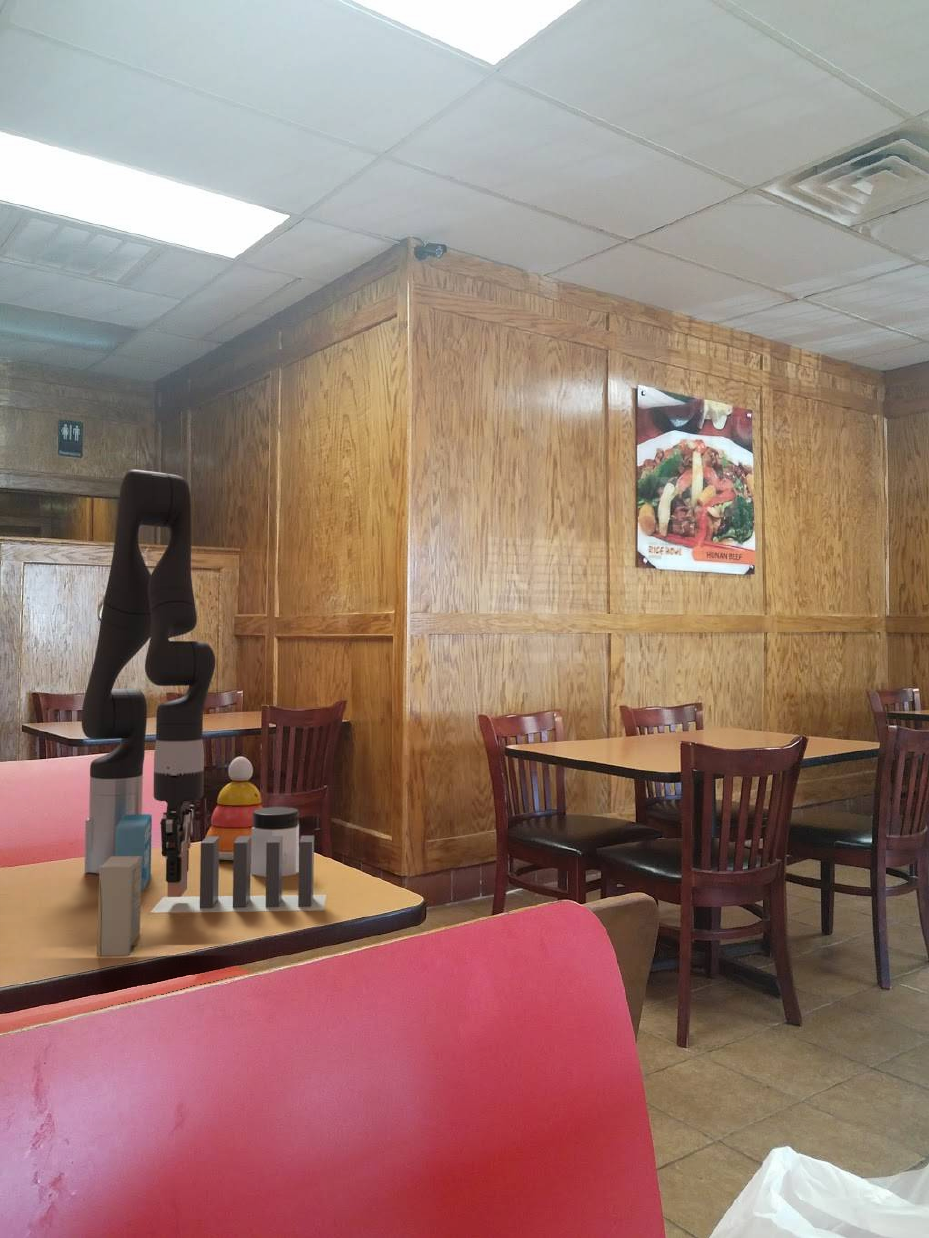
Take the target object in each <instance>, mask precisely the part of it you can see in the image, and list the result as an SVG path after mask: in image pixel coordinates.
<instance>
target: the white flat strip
mask: <svg viewBox="0 0 929 1238" xmlns="http://www.w3.org/2000/svg"><path fill="white" fill-rule="evenodd" d="M326 900H327V894H313V901H312V905H311V907H298V894H285V895H283V894H282V899H281V902H280V905H279V907H266V894H265V895H250V900H249V902H248V904H247V906H246V908H233V895H218V901H217V902H216V904H215V906H214V907H213V908H200V895H199V896H198V895H197V896H194V895H193V896H181V897H167V896H162V898H161V899H160V900H159V902H158V903H156V905H155V906H154V908H153V909H152V910H151V911H150V913H149V914H173V913H174V914H179V913H185V914H186V913H235V912H237V913H239V912H241V913H242V912H243V913H245V912H248V913H249V912H296V911H297V912H299V911H300V912H303V911H304V912H306V911H307V912H310V911H313V912H314V911H324V910H325V904H326Z"/></svg>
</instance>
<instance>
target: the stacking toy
mask: <svg viewBox="0 0 929 1238" xmlns="http://www.w3.org/2000/svg"><path fill="white" fill-rule="evenodd" d="M227 771H228V772H227V774H228V776H229V778H230V780H232V781H231V782H230V783H227V784H226V785H225V786H223V788H222V789H221V790H220V791H219V794H218V796H217V800H216V803H217V805H216V807H215V808H214V810H213V812H212V815H211V818H210V824H211V826H210V827H209V829H208V831H207V833H206V835H205V838H206V837H209V836H219V861H220V860H221V861H222V860H223V861H233V857H234V842H235V840H236V839H237V837H238V836H251V843H252V828H253V811H255V810H257V809H261V808H264V807H263V805H262V804H261V803H262V795H261V793H260V791H259V789H258V788H257V786H255V785H254V784H253V783H251V782H250V781H249V780H250V779H251V778H252V776H253V773H254V768H253V765H252V763H251V761H250V760H248V758H246V757H244V756H237V757H235V758H233V760H232V761H231V762H230V764H229V766H228V770H227Z"/></svg>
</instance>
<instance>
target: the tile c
mask: <svg viewBox="0 0 929 1238" xmlns="http://www.w3.org/2000/svg"><path fill="white" fill-rule="evenodd" d="M232 861H233V862H232V863H233V864H232V865H233V867H232V869H233V871H232V873H233V874H232V896H233V908H246V906H247V904H248V902H249V900H250V896H251V836H238V837H237V839H236V840H235V842H234V857H233V860H232Z"/></svg>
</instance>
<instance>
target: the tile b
mask: <svg viewBox="0 0 929 1238" xmlns="http://www.w3.org/2000/svg"><path fill="white" fill-rule="evenodd" d="M219 863H220V859H219V836H209V837H206V836H205V838H203V839H202V841H201V842H200V864H199V867H200V868H199V871H200V872H199V877H200V878H199V896H200V908H213V907H214V906H215V904H216V902H217V901H218V896H219V879H220V878H219V875H220V873H219V871H220V870H219V869H220V868H219V867H220V866H219V865H220V864H219Z"/></svg>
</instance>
